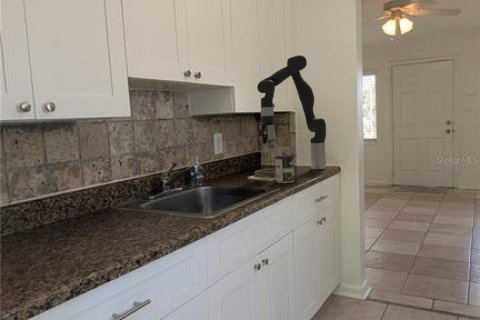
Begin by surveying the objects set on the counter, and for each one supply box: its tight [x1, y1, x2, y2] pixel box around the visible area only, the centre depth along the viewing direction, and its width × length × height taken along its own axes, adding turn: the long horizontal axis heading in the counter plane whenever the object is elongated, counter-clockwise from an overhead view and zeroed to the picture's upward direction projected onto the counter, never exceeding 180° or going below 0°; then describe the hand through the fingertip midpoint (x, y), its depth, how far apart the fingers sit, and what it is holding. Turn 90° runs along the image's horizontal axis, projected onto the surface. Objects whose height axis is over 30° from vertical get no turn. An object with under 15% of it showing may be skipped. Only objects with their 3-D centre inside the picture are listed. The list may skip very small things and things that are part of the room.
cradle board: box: [247, 168, 276, 182], centre depth 228 cm, size 20×18×4 cm
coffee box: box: [259, 124, 278, 154], centre depth 226 cm, size 9×6×16 cm
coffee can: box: [274, 154, 296, 184], centre depth 211 cm, size 10×10×14 cm
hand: (268, 142), depth 226 cm, fingers closed on coffee box, 7 cm apart
